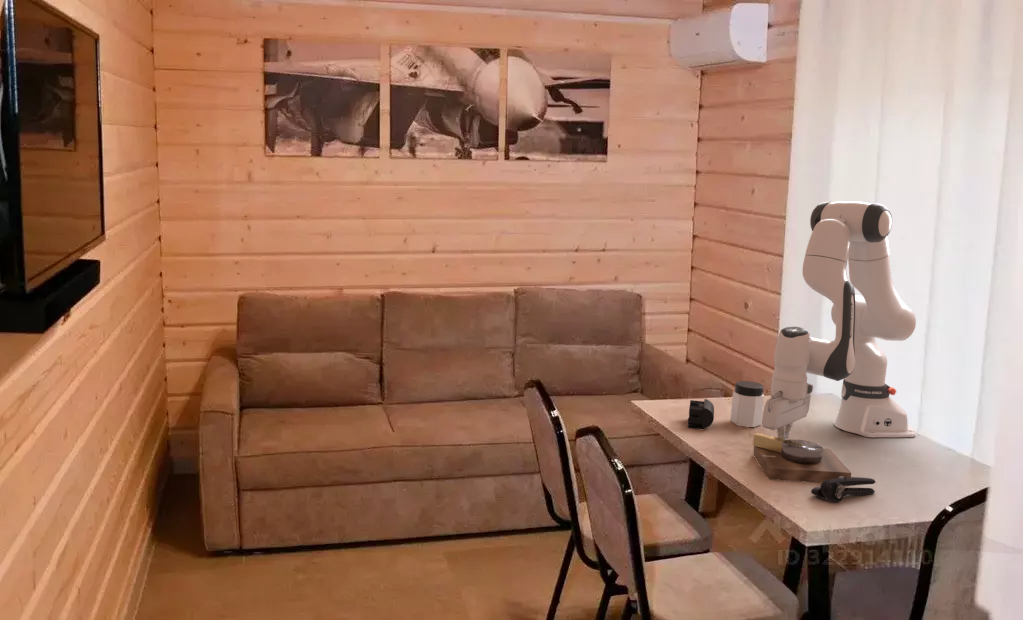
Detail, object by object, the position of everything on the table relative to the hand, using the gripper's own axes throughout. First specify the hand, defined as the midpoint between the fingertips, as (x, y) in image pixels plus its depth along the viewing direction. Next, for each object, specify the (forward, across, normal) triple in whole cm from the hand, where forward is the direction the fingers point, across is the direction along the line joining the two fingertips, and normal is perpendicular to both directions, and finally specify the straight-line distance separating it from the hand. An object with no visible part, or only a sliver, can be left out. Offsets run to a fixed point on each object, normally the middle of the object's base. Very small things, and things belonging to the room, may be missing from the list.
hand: (782, 438), depth 252 cm
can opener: (+5, -15, -24) cm, 29 cm away
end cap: (+5, +7, +29) cm, 30 cm away
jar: (+5, +19, +21) cm, 29 cm away
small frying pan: (+1, -6, -4) cm, 7 cm away
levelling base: (+5, -6, -8) cm, 11 cm away
